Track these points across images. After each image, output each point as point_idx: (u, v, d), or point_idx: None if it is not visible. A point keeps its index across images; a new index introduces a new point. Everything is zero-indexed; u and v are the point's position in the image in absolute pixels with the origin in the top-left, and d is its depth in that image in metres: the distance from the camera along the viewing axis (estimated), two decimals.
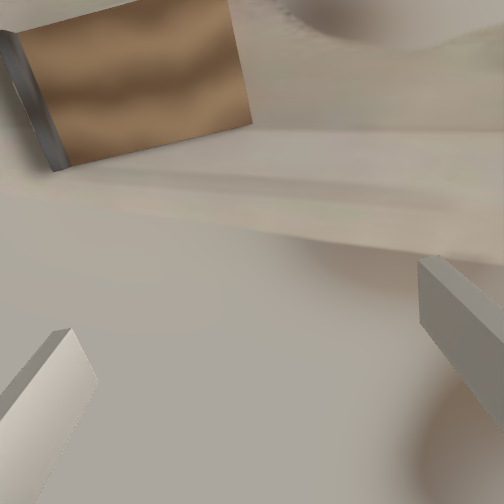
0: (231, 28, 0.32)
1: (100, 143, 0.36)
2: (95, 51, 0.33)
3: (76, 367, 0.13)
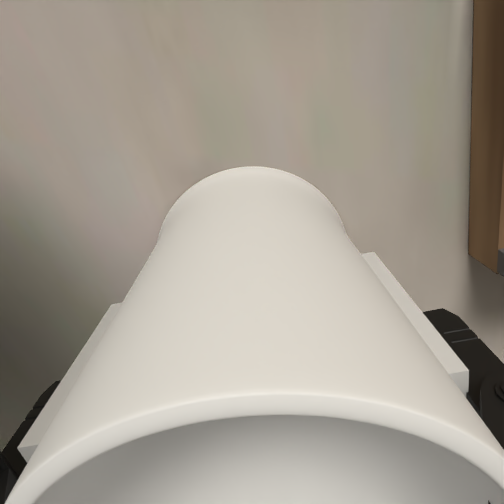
0: None
1: None
2: None
3: None
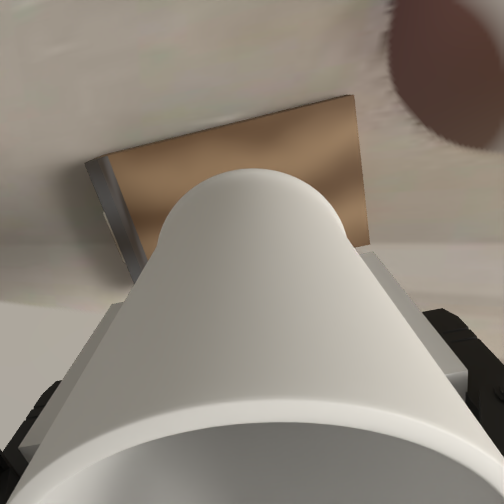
0: (358, 147, 0.27)
1: None
2: (197, 172, 0.28)
3: None
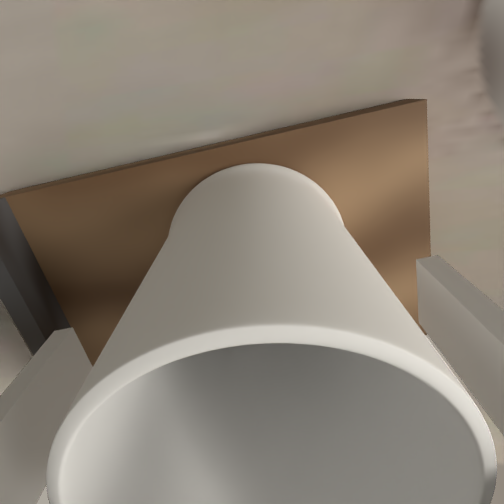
0: (426, 187, 0.16)
1: None
2: (157, 225, 0.17)
3: (77, 366, 0.13)
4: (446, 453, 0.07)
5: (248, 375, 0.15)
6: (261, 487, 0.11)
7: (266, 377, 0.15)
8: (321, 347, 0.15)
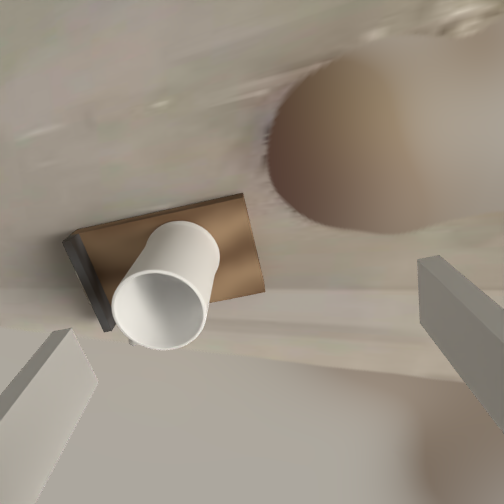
0: (249, 229, 0.40)
1: None
2: (140, 244, 0.41)
3: (76, 367, 0.13)
4: None
5: (174, 302, 0.39)
6: (169, 328, 0.35)
7: (180, 303, 0.39)
8: None
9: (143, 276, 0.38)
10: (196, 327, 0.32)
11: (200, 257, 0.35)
